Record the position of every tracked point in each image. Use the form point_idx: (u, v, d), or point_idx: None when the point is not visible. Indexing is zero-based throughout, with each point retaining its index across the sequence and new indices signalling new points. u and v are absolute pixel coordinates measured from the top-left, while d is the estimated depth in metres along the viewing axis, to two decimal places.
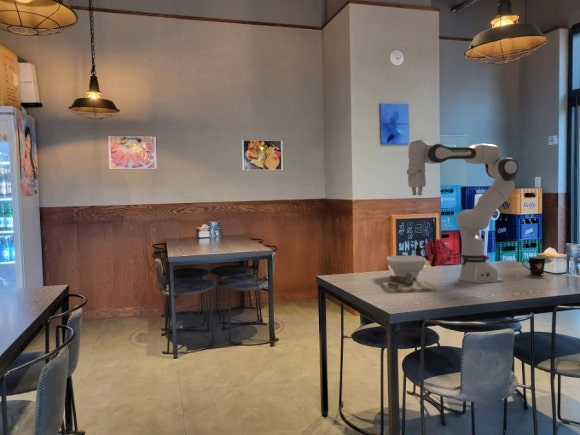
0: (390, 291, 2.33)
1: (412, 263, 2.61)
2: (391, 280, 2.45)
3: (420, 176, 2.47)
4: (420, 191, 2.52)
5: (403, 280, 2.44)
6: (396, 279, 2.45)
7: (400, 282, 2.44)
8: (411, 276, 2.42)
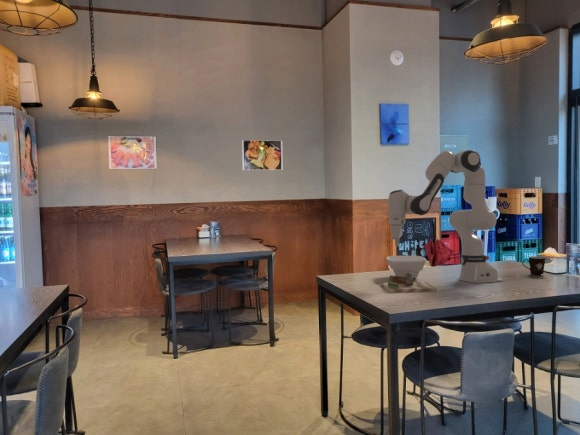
0: (390, 291, 2.33)
1: (412, 263, 2.61)
2: (391, 280, 2.45)
3: None
4: None
5: (403, 280, 2.44)
6: (396, 279, 2.45)
7: (400, 282, 2.44)
8: (411, 276, 2.42)
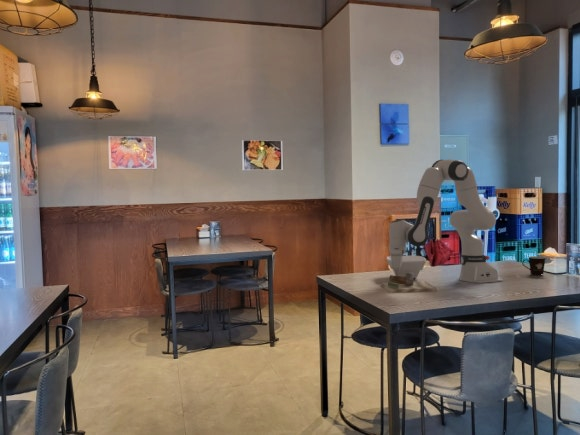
0: (390, 291, 2.33)
1: (412, 263, 2.61)
2: (391, 280, 2.45)
3: None
4: None
5: (403, 280, 2.44)
6: (396, 279, 2.45)
7: (400, 282, 2.44)
8: (411, 276, 2.42)
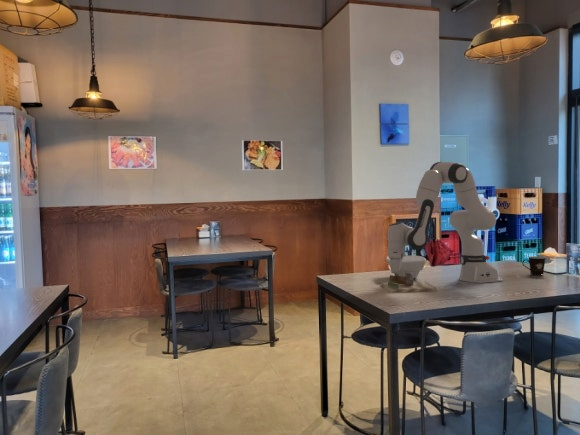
0: (390, 291, 2.33)
1: (412, 263, 2.61)
2: (391, 280, 2.45)
3: None
4: None
5: (403, 280, 2.43)
6: (396, 279, 2.45)
7: (400, 282, 2.44)
8: (411, 276, 2.42)
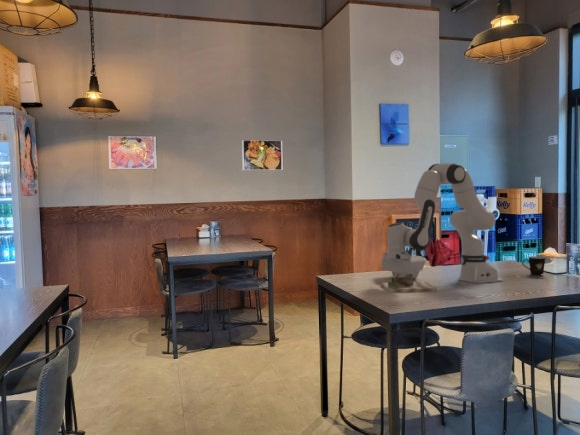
0: (390, 291, 2.33)
1: (412, 263, 2.61)
2: (395, 282, 2.40)
3: None
4: None
5: (405, 281, 2.42)
6: (399, 281, 2.41)
7: (402, 283, 2.41)
8: (412, 276, 2.42)
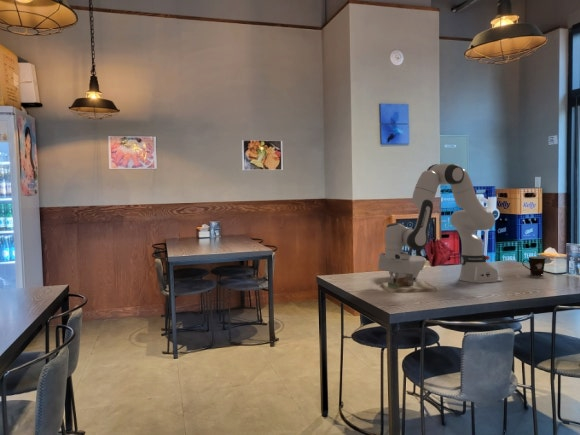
0: (390, 291, 2.33)
1: (412, 263, 2.61)
2: None
3: None
4: None
5: (406, 281, 2.41)
6: (401, 281, 2.40)
7: (404, 283, 2.41)
8: None
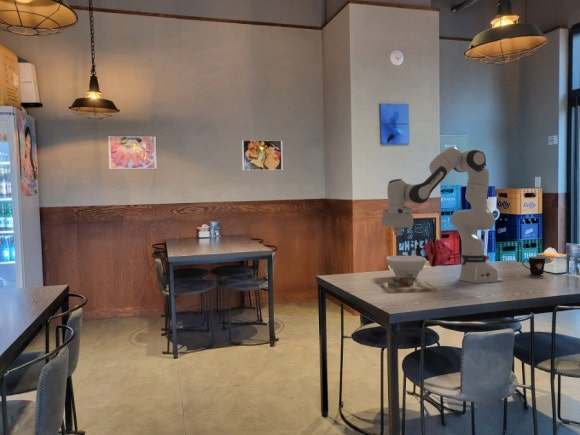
0: (390, 291, 2.33)
1: (412, 263, 2.61)
2: None
3: None
4: None
5: (406, 281, 2.41)
6: (401, 281, 2.40)
7: (404, 283, 2.41)
8: None
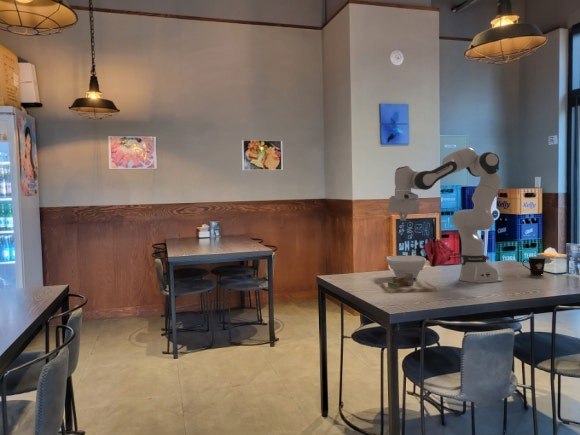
0: (390, 291, 2.33)
1: (412, 263, 2.61)
2: None
3: None
4: None
5: (406, 281, 2.41)
6: (401, 281, 2.40)
7: (404, 283, 2.41)
8: None
